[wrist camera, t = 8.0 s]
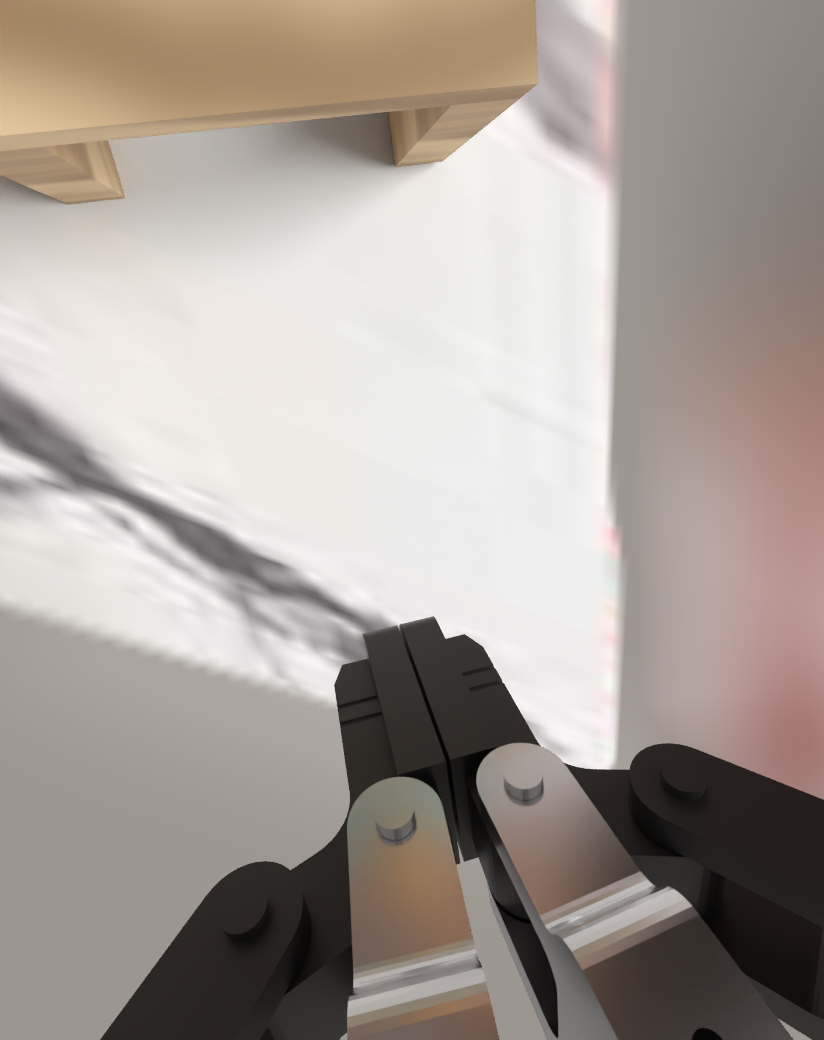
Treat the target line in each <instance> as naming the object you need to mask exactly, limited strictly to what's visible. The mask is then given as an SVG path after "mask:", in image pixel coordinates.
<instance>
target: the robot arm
mask: <svg viewBox="0 0 824 1040" xmlns="http://www.w3.org/2000/svg"><path fill="white" fill-rule="evenodd" d="M363 638H364V644H365V649H366V653H367V658H368V659H365V660H361V661H357V662H353V663H349V664H345V665H342V667H341V670H340V672H339V675H338V677H337V680H336V682H335V685H334V686H335V693H336V700H337V707H338V714H339V721H340V726H341V727H340V728H341V735H342V742H343V748H344V756H345V763H346V769H347V777H348V783H349V791H350V806H349V811H348V814H347V817H346V819H345V822H344V824H343V826H342V827H341V829H340V830H339V832H338V833H337V835H336V836H335V837H334V838H333V840H332V841H331V842H329V843H328V844H327V845H326V846H325V847H324V848H323V849H322V850H320V851H319V852H318V853H316V854H315V855H313V856H312V857H310V858H309V859H307V860H306V861H304V862H303V863H301V864H299V865H298V866H297V867H295V868H293V869H292V870H289V869H288V868H286V867H285V866H283V865H281V864H278V863H275V862H267V861H264V862H255V863H251V864H248V865H245V866H243V867H240V868H238V869H236V870H235V871H233V872H231V873H229V874H228V875H227V876H225V877H224V878H223V879H221V880H220V881H219V882H218V883H217V884H216V885H215V886H214V887H213V888H212V890H211V891H210V892H209V893H208V895H207V896H206V897H205V898H204V900H203V901H202V902H201V904H200V905H199V906H198V908H197V909H196V910H195V912H194V913H193V915H192V916H191V917H190V919H189V920H188V921H187V923H186V924H185V925H184V927H183V928H182V929H181V931H180V932H179V934H178V935H177V936H176V938H175V939H174V940H173V942H172V943H171V945H170V946H169V947H168V948H167V950H166V951H165V953H164V954H163V955H162V957H161V958H160V959H159V961H158V962H157V964H156V965H155V966H154V968H153V969H152V970H151V972H150V973H149V974H148V976H147V977H146V978H145V980H144V981H143V982H142V984H141V985H140V986H139V988H138V989H137V991H136V992H135V993H134V995H133V996H132V997H131V999H130V1000H129V1001H128V1003H127V1004H126V1006H125V1007H124V1008H123V1010H122V1011H121V1012H120V1014H119V1015H118V1016H117V1018H116V1019H115V1020H114V1022H113V1023H112V1024H111V1026H110V1027H109V1029H108V1030H107V1031H106V1033H105V1034H104V1035H103V1037H102V1038H101V1039H100V1040H340V1038H341V1037H342V1036H343V1035H344V1034H345V1033H347V1038H348V1039H347V1040H499V1035H498V1031H497V1027H496V1023H495V1018H494V1014H493V1010H492V1005H491V1001H490V997H489V993H488V989H487V985H486V981H485V977H484V973H483V970H482V966H481V963H480V961H479V960H478V957H477V953H476V949H475V946H474V941H473V936H472V933H471V928H470V923H469V919H468V915H467V910H466V906H465V902H464V897H463V893H462V888H461V884H460V880H459V875H458V871H457V867H456V864H459V863H460V858H459V851H458V845H457V842H458V844H459V848H460V850H461V854H462V857H463V860H464V861H468V860H471V859H474V858H477V857H479V860H480V862H481V865H482V868H483V871H484V874H485V877H486V879H487V883H488V891H489V900H490V905H491V908H492V911H493V913H494V915H495V918H496V920H497V923H498V925H499V928H500V930H501V932H502V934H503V937H504V939H505V942H506V944H507V946H508V949H509V951H510V954H511V956H512V958H513V960H514V963H515V965H516V968H517V970H518V972H519V975H520V977H521V979H522V982H523V984H524V987H525V989H526V991H527V994H528V996H529V998H530V1001H531V1003H532V1005H533V1008H534V1010H535V1012H536V1015H537V1017H538V1020H539V1022H540V1024H541V1027H542V1029H543V1031H544V1034H545V1036H546V1038H547V1040H793V1038H792V1037H791V1036H790V1034H789V1033H788V1032H787V1030H786V1029H785V1028H784V1026H783V1025H782V1024H781V1022H780V1021H779V1020H778V1019H780V1020H782V1021H783V1022H785V1023H787V1024H788V1025H790V1026H791V1027H793V1028H795V1029H796V1030H798V1031H799V1032H801V1033H803V1034H804V1035H806V1036H807V1037H809V1038H811V1039H812V1040H824V800H823V799H820V798H817V797H815V796H813V795H810V794H808V793H805V792H802V791H800V790H797V789H795V788H792V787H790V786H787V785H785V784H782V783H780V782H777V781H775V780H772V779H770V778H767V777H765V776H762V775H760V774H757V773H755V772H752V771H750V770H747V769H745V768H742V767H739V766H737V765H734V764H732V763H730V762H727V761H725V760H722V759H719V758H717V757H714V756H712V755H709V754H707V753H704V752H702V751H699V750H697V749H694V748H691V747H688V746H684V745H679V744H670V743H668V744H657V745H653V746H650V747H647V748H645V749H643V750H642V751H640V752H639V753H638V754H637V755H636V756H635V758H634V759H633V761H632V763H631V766H630V770H600V769H584V768H579V767H575V766H571V765H568V764H566V763H564V762H562V760H561V759H560V758H559V757H558V756H556V755H555V754H554V753H552V752H551V751H549V750H548V749H545V748H543V747H541V746H540V745H539V743H538V742H537V740H536V739H535V737H534V735H533V733H532V732H531V730H530V728H529V726H528V725H527V723H526V721H525V719H524V718H523V716H522V714H521V712H520V711H519V709H518V707H517V705H516V704H515V702H514V700H513V698H512V697H511V695H510V693H509V691H508V690H507V688H506V686H505V684H504V683H502V679H501V678H500V676H499V674H498V672H497V671H496V669H495V668H494V666H493V664H492V662H491V660H490V658H489V657H488V655H487V653H486V651H485V650H484V648H483V647H482V646H481V645H479V644H478V643H476V642H475V641H474V640H472V639H471V638H469V637H468V636H466V635H465V634H464V635H460V636H456V637H452V638H448V639H445V637H444V635H443V633H442V631H441V629H440V627H439V625H438V623H437V621H436V619H435V617H434V616H433V617H429V618H425V619H421V620H417V621H413V622H409V623H405V624H400V631H399V628H398V626H393V627H389V628H385V629H380V630H376V631H372V632H368V633H364V634H363Z"/></svg>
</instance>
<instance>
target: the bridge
mask: <svg viewBox="0 0 824 1040" xmlns="http://www.w3.org/2000/svg"><path fill="white" fill-rule="evenodd" d="M537 84H538V67H537V36H536V4H535V0H0V176H3V177H5V178H7V179H10V180H12V181H14V182H17V183H19V184H21V185H24V186H26V187H29V188H31V189H33V190H36V191H38V192H40V193H43V194H45V195H47V196H50V197H52V198H55V199H57V200H59V201H62V202H64V203H66V204H76V203H85V202H94V201H103V200H112V199H121V198H125V196H124V192H123V189H122V186H121V182H120V179H119V176H118V172H117V169H116V166H115V162H114V159H113V156H112V153H111V149H110V146H109V143H108V140H115V139H125V138H135V137H145V136H155V135H165V134H175V133H184V132H194V131H204V130H214V129H224V128H234V127H244V126H253V125H263V124H273V123H283V122H293V121H303V120H313V119H322V118H332V117H342V116H352V115H362V114H372V113H382V112H389V120H390V128H391V136H392V144H393V152H394V160H395V167H398V166H407V165H415V164H424V163H432V162H441V161H443V160H445V159H446V158H447V157H448V156H450V155H451V154H452V153H453V152H454V151H456V150H457V149H458V148H459V147H461V146H462V145H463V144H464V143H466V142H467V141H468V140H469V139H470V138H472V137H473V136H474V135H475V134H477V133H478V132H479V131H480V130H481V129H483V128H484V127H485V126H486V125H488V124H489V123H490V122H491V121H493V120H494V119H495V118H496V117H497V116H499V115H500V114H501V113H502V112H504V111H505V110H506V109H507V108H509V107H510V106H511V105H512V104H513V103H515V102H516V101H517V100H518V99H520V98H521V97H522V96H523V95H525V94H526V93H527V92H528V91H529V90H531V89H532V88H533V87H534V86H536V85H537Z"/></svg>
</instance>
